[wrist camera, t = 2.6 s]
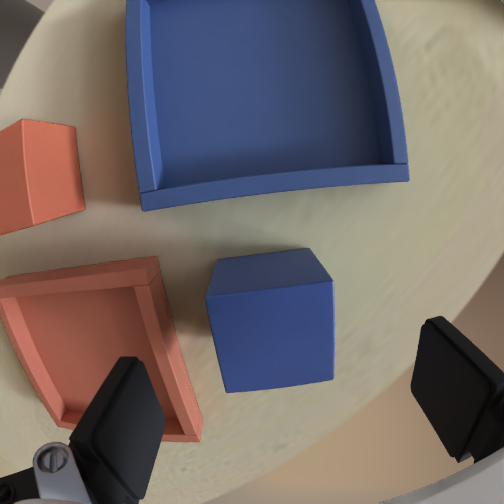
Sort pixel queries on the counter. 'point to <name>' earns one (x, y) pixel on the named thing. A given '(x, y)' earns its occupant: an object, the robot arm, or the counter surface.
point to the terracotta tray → (98, 338)
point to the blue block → (272, 320)
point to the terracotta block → (38, 174)
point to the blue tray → (260, 98)
